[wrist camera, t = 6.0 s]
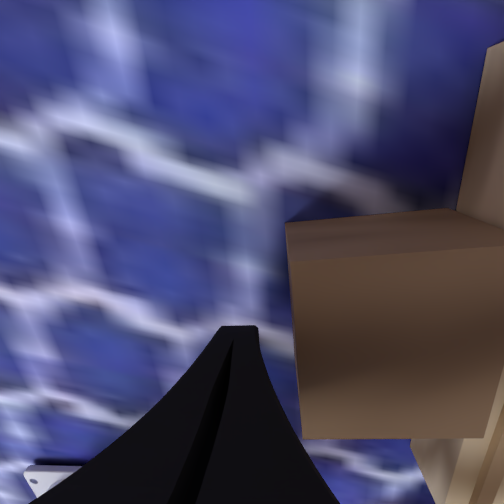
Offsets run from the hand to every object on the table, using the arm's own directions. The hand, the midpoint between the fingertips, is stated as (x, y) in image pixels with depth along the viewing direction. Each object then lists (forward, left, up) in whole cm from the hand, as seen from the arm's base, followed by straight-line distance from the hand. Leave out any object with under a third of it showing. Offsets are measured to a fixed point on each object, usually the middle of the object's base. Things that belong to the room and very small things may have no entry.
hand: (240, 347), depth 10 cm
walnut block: (+1, -5, -3) cm, 6 cm away
